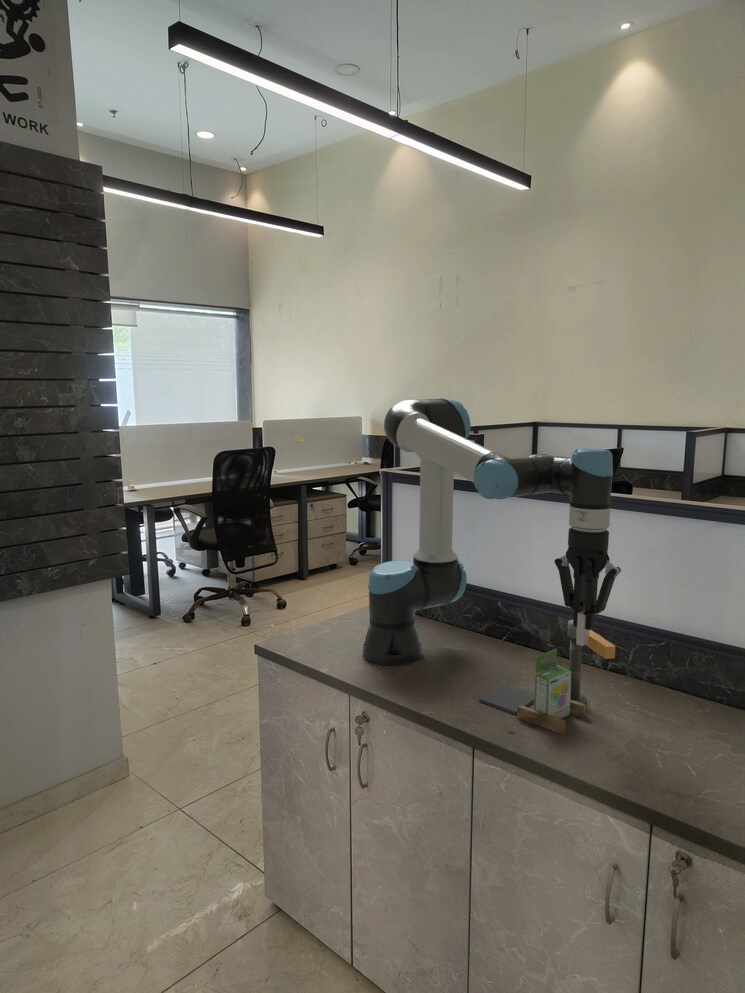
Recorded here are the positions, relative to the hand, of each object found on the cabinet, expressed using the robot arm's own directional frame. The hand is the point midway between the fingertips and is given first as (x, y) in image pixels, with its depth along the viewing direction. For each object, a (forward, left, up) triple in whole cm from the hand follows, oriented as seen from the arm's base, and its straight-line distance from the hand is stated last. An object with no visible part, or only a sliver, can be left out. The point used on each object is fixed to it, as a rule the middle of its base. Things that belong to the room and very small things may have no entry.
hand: (582, 643), depth 129 cm
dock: (-4, 0, -16) cm, 16 cm away
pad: (-15, -3, -16) cm, 22 cm away
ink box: (-4, -4, -16) cm, 17 cm away
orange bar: (0, +3, -1) cm, 3 cm away
